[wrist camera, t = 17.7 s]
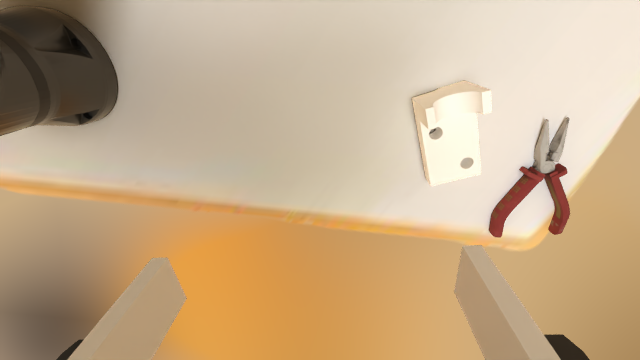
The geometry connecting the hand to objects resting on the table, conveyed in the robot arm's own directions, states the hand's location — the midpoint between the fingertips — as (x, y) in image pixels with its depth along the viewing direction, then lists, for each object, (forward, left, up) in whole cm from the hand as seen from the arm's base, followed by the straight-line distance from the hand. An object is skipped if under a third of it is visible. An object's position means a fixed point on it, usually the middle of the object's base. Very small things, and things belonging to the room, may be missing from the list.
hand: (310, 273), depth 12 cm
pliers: (+36, -3, -31) cm, 48 cm away
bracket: (+17, +1, -31) cm, 36 cm away
